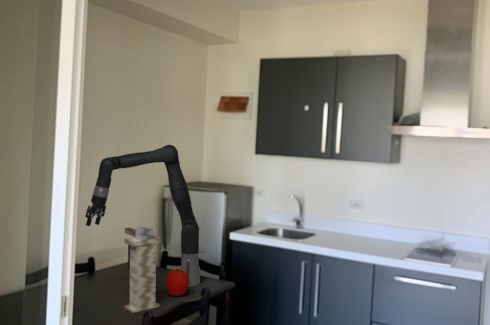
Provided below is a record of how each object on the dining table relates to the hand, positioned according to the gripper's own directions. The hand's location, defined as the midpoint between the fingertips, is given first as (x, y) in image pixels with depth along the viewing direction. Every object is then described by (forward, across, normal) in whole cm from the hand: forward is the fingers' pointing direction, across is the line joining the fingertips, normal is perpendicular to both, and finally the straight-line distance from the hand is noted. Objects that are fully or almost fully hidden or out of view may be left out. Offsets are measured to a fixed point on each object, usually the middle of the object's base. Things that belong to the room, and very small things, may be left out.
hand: (92, 225), depth 269 cm
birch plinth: (+23, -20, -46) cm, 55 cm away
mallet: (-7, -19, -34) cm, 40 cm away
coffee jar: (+26, +37, -15) cm, 47 cm away
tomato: (+20, +1, -54) cm, 58 cm away
